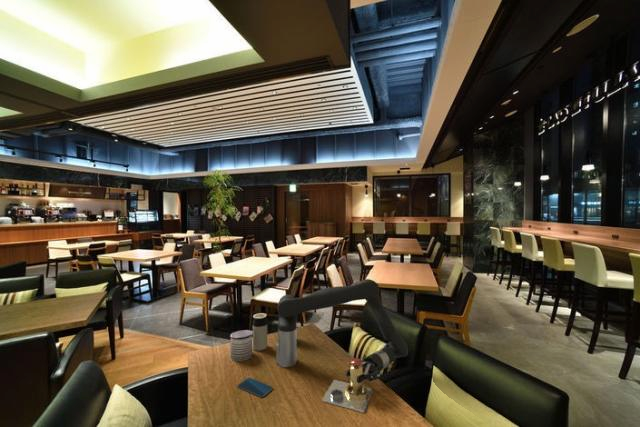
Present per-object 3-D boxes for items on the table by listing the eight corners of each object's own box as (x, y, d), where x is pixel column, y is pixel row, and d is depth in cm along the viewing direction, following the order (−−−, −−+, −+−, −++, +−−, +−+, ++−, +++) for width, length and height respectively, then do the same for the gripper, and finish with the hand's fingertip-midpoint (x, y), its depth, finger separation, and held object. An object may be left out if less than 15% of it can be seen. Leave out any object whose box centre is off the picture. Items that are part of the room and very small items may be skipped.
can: (229, 362, 139) (229, 338, 139) (231, 351, 150) (231, 329, 150) (252, 359, 141) (252, 336, 141) (252, 349, 152) (252, 327, 152)
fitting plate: (322, 401, 109) (322, 395, 110) (334, 381, 122) (334, 376, 122) (364, 412, 103) (364, 406, 103) (372, 390, 116) (372, 385, 116)
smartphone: (262, 399, 111) (262, 397, 111) (235, 387, 119) (235, 385, 119) (274, 389, 118) (274, 387, 118) (248, 378, 125) (248, 376, 125)
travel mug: (263, 351, 149) (263, 318, 150) (250, 350, 151) (250, 317, 151) (269, 344, 157) (269, 313, 157) (256, 343, 159) (256, 312, 159)
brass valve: (348, 392, 112) (348, 363, 112) (352, 385, 117) (351, 356, 117) (361, 395, 110) (360, 365, 110) (364, 388, 115) (363, 359, 115)
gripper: (364, 347, 128) (339, 361, 117) (390, 359, 118) (366, 375, 106) (364, 363, 128) (339, 378, 117) (390, 377, 118) (366, 395, 106)
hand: (352, 377), depth 112 cm, fingers closed on brass valve, 5 cm apart
